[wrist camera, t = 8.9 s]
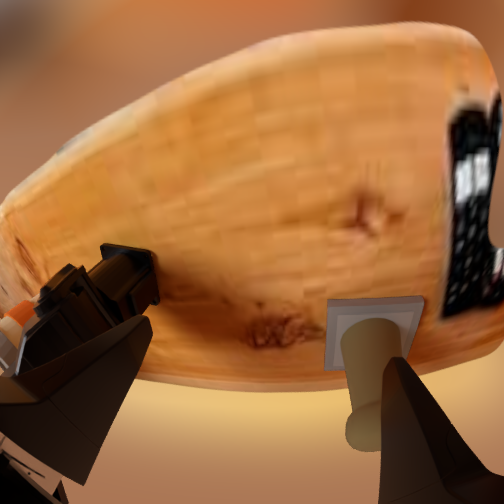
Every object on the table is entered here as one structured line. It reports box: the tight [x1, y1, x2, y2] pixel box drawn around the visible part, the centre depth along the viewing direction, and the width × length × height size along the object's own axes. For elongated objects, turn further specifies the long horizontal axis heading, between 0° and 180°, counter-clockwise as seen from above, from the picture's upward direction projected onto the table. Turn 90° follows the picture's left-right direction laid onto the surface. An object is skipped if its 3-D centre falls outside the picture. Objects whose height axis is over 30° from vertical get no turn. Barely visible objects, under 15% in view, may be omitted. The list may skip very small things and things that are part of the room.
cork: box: [340, 318, 402, 452], centre depth 18 cm, size 6×6×11 cm
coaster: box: [324, 296, 425, 371], centre depth 23 cm, size 9×9×1 cm
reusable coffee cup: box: [0, 293, 40, 371], centre depth 28 cm, size 12×13×15 cm
